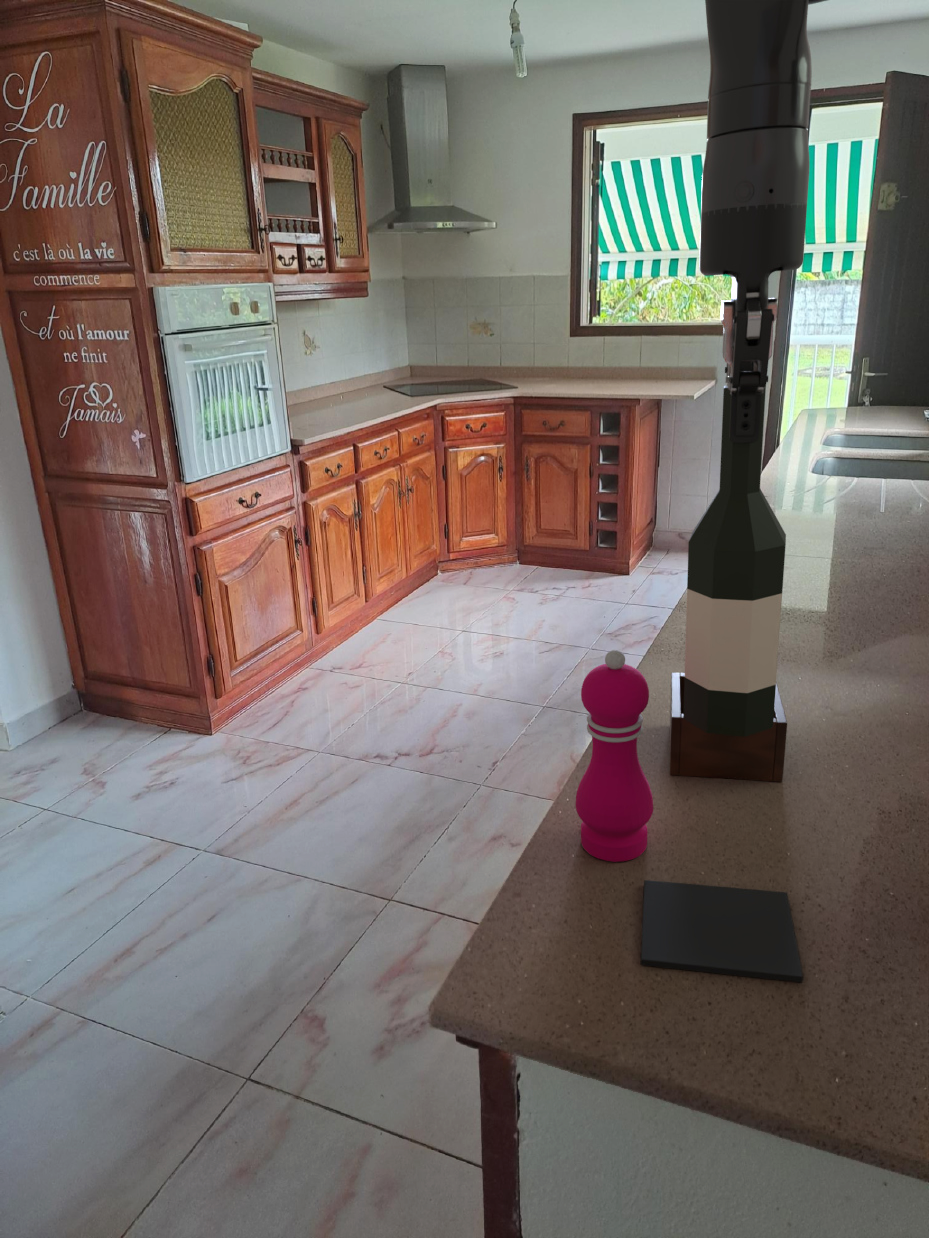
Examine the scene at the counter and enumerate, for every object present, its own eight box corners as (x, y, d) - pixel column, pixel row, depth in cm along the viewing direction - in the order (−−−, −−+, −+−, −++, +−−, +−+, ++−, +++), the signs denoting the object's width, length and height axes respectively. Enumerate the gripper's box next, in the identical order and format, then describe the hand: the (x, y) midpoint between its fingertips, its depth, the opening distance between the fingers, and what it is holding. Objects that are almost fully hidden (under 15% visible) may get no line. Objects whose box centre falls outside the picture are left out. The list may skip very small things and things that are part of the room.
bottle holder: (771, 730, 103) (775, 676, 101) (782, 782, 93) (787, 722, 90) (669, 725, 106) (671, 672, 103) (669, 775, 95) (671, 717, 93)
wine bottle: (756, 692, 84) (776, 367, 74) (792, 732, 76) (820, 376, 66) (670, 699, 84) (678, 374, 73) (697, 740, 76) (710, 384, 66)
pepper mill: (641, 873, 80) (645, 671, 73) (565, 856, 83) (562, 661, 76) (660, 829, 86) (665, 640, 79) (588, 815, 89) (587, 631, 82)
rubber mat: (786, 897, 75) (787, 892, 75) (802, 982, 66) (803, 976, 66) (644, 885, 78) (644, 879, 78) (640, 965, 69) (640, 959, 69)
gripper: (821, 191, 58) (802, 453, 64) (795, 207, 71) (781, 423, 77) (703, 201, 60) (695, 455, 66) (699, 215, 73) (693, 426, 79)
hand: (742, 437), depth 71 cm, fingers closed on wine bottle, 3 cm apart
